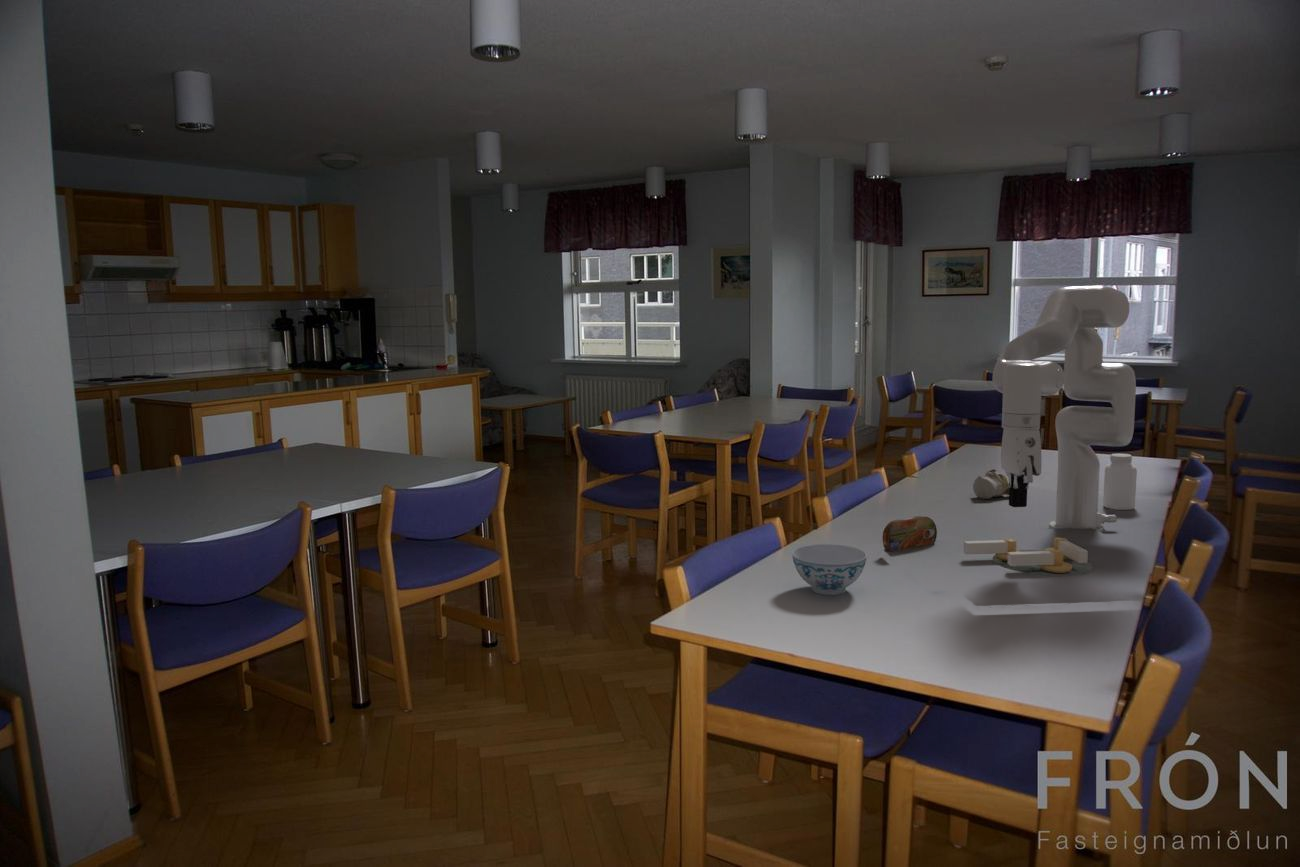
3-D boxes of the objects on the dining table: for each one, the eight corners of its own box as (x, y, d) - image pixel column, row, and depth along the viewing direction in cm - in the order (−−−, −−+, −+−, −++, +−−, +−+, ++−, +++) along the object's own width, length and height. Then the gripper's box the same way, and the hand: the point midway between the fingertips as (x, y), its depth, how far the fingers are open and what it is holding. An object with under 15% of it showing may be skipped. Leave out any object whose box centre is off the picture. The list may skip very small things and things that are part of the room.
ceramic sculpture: (963, 468, 268) (994, 465, 277) (961, 496, 269) (992, 493, 278) (995, 473, 260) (1025, 470, 268) (992, 502, 261) (1023, 498, 269)
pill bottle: (1104, 509, 249) (1106, 456, 247) (1101, 503, 256) (1104, 452, 254) (1136, 511, 246) (1139, 457, 244) (1133, 505, 253) (1135, 453, 251)
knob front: (1063, 564, 192) (1063, 547, 191) (1077, 572, 186) (1077, 554, 185) (1003, 566, 191) (1003, 549, 191) (1015, 574, 185) (1015, 556, 185)
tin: (889, 559, 206) (889, 523, 204) (879, 555, 208) (880, 520, 207) (937, 549, 212) (938, 515, 211) (927, 546, 215) (928, 512, 214)
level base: (1064, 554, 205) (1064, 541, 205) (1111, 580, 186) (1111, 565, 185) (977, 557, 205) (978, 543, 204) (1016, 583, 185) (1016, 568, 185)
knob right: (1040, 552, 201) (1040, 535, 201) (1066, 551, 201) (1067, 535, 201) (1068, 568, 188) (1069, 551, 188) (1096, 567, 188) (1097, 550, 188)
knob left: (1017, 553, 201) (1017, 536, 201) (1029, 560, 195) (1029, 543, 195) (959, 555, 201) (960, 538, 200) (970, 562, 195) (970, 545, 194)
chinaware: (851, 606, 174) (852, 567, 173) (780, 594, 182) (780, 557, 181) (876, 585, 186) (876, 549, 185) (808, 575, 194) (808, 540, 193)
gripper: (1055, 424, 182) (1051, 513, 184) (1022, 417, 197) (1019, 499, 199) (1018, 425, 182) (1015, 514, 184) (989, 417, 197) (986, 499, 199)
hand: (1017, 506), depth 192 cm, fingers closed
